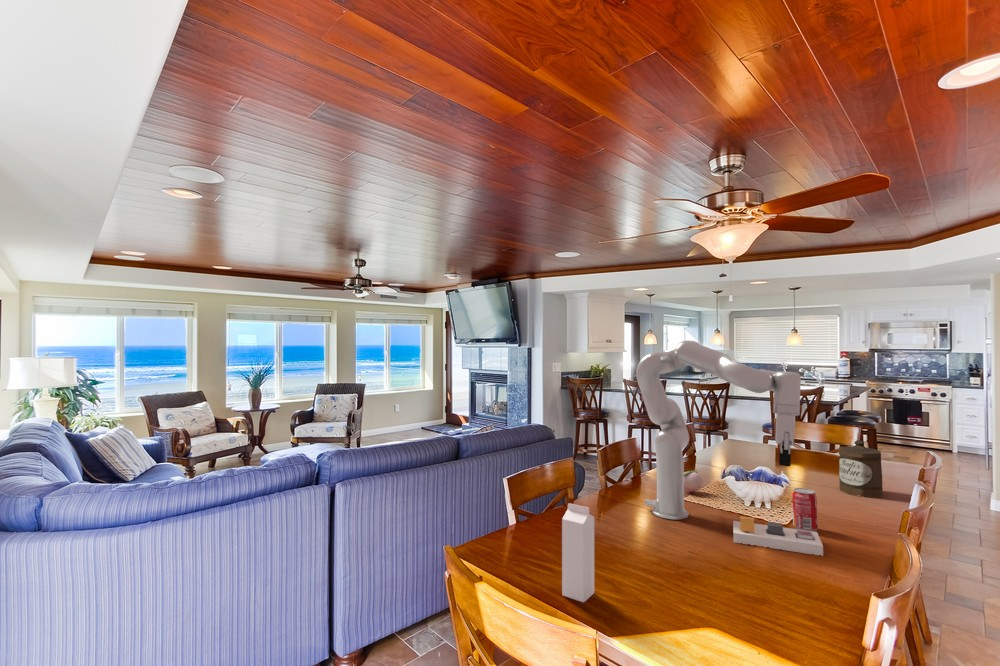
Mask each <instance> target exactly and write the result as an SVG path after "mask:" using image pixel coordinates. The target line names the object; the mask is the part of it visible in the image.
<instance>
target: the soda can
mask: <svg viewBox="0 0 1000 666" xmlns="http://www.w3.org/2000/svg"><path fill="white" fill-rule="evenodd" d="M792 525H793V527H794V529H798V530H805V531H812V532H817V530H819V529H818V527H819V525H818V497H817V495H816V492H815V490H813V489H809V488H804V487H798V488H797V487H796V488H794V489H793V492H792Z"/></svg>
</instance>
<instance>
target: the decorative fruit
mask: <svg viewBox="0 0 1000 666" xmlns="http://www.w3.org/2000/svg"><path fill="white" fill-rule="evenodd" d="M702 483H703V479H702V476H701V475H700V474H699V473H698V472H697V470H692V469H691V468H690V469H689V470H688V471H684V491H686V492H688V493H689V494H690V493H693V492H695V491H698V490H699V489H700V488H701V487H702V485H703V484H702Z"/></svg>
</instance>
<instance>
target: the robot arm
mask: <svg viewBox="0 0 1000 666" xmlns="http://www.w3.org/2000/svg"><path fill="white" fill-rule="evenodd" d="M688 366H689V367H692V368H694V369H697V370H699V371H702V372H704V373H707V374H709V375H711V376H714V377H716V378H718V379H721V380H723V381H725V382H728V383H729V384H733V385H734V386H736V387H740V388H742V389H745V390H746V391H749V392H752V393H755V394H762V393H766V392H773V404H772V405H773V406H772V407H773V409H772V413H773V414H775V415H776V417H775V435H774V436H775V438H774V440H775V444H777V445H779V452H778V453H779V454H778V465H779V466H784V467H791V466H792V465H791V459H792V457H791V456H792V454H791V447H792V446H794V441H795V434H796V433H795V432H796V431H795V430H796V417H797V416H800V415H801V412H800V410H801V409H800V408H801V382H802V381H801V380H802V379H801V377H802V376H801V374H800V373H798V372H796V371H795V372H794V371H780V370H779V371H776V370H775V371H774V370H769V369H764V368H761V369H757V368H754V367H752V366H749V365H746V364H744V363H741V362H740V361H737V360H734V359H733V358H731V357H730V356H729V355H728V354H726V353H724V352H720V351H718V350H716V349H713V348H711V347H707V346H704V345H702V344H700V343H699V342H697V341H695V340H682V341H680V342H679V343H677V345H676V346H674V347H671V348H669V349H666V350H663V351H652V352H650V353H648V354H646V355H644V356H643V358H641V359H640V361H639V362H638V364H637V366H636V370H635V371H636V373H635V375H636V381H637V384H638V387H639V388H638V389H639V390H640V392H641V397H642V400H643V403H644V406H645V408H646V409H645V410H646V412H647V415H648V418H649V419H650V421H651V423H653V424H655V425H658V426H660V429H661V430H659V431H658V433H657V434H656V435H655V439H654V450H655V460H656V499H653V500H652V499H648V498H647V499H646V498H645V499H644V505H645V506H647V507H652V513H653V514H654V516H657V517H659V518H661V519H667V520H674V521H675V520H676V521H677V520H684V519H687V518H688V517H690V514H689V511H688V510H686V509H685V489H684V472H685V465H684V456H683V449H685V448H686V447H687V446H688V444H689V442H690V434H689V430H688V428H687V425H686V422H685V419H684V416H683V414H682V411H681V408H680V406H679V404H678V403H677V402H676V401H675V400H674V399H672V398H670V397H668V396H667V393H666V391H665V388H664V385H663V383H662V381H661V379H660V378H661V377H660V375H664V374H669V373H671V372H674V371H677V370H680V369H683V368H686V367H688Z"/></svg>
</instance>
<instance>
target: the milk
mask: <svg viewBox="0 0 1000 666" xmlns="http://www.w3.org/2000/svg"><path fill="white" fill-rule="evenodd" d="M564 513H565V514H564V515H563V517H562V519H561V565H562V566H561V572H562V573H561V575H562V576H561V593H562V596H563V597H566V598H569V599H572V600H575V601H578V602H580V603H582V604H583V603H585V602H587V600H589V598H591V597H592V596H593V595H594V594H595V516H593V515H592V514H591V513H590V508H589V507H588V506H583V505H579V504H574V503H570V502H569V503H567V510H566V511H565V512H564Z"/></svg>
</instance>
